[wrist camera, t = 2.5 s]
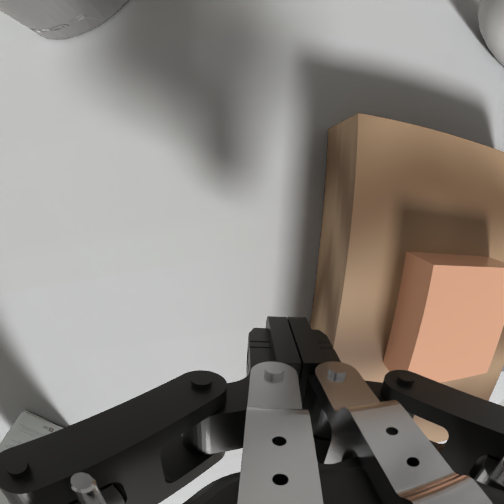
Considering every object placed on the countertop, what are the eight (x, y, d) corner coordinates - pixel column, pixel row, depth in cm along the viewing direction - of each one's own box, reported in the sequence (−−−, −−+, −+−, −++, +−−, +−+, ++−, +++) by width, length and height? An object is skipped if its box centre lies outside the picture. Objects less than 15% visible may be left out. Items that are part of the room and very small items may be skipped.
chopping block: (328, 128, 17) (358, 112, 12) (497, 166, 18) (543, 168, 13) (294, 417, 22) (305, 464, 17) (445, 398, 22) (472, 431, 18)
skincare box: (23, 407, 21) (-52, 512, 7) (77, 430, 22) (14, 557, 7) (38, 459, 23) (-12, 552, 8) (86, 479, 24) (46, 585, 9)
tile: (406, 251, 14) (433, 264, 12) (489, 256, 14) (518, 268, 12) (382, 362, 15) (401, 388, 13) (464, 353, 16) (487, 372, 13)
